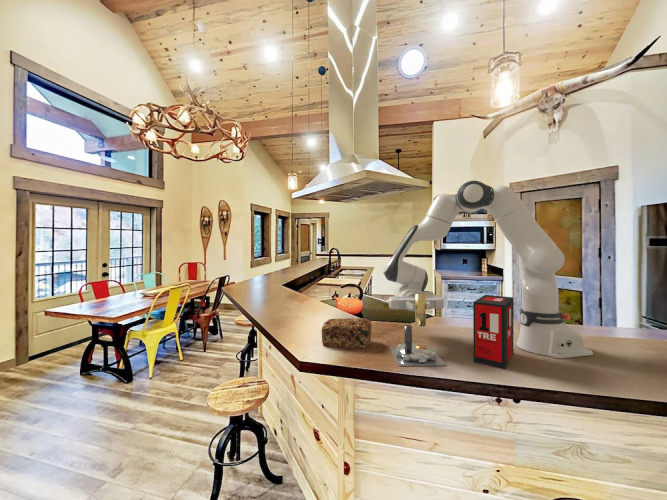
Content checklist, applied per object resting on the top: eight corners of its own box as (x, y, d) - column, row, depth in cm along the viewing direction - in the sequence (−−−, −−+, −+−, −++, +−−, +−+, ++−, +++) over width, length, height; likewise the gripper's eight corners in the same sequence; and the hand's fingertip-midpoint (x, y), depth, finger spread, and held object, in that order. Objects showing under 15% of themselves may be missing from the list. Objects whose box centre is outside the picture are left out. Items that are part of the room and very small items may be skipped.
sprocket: (391, 347, 104) (391, 318, 104) (428, 346, 105) (427, 318, 105) (401, 362, 91) (401, 329, 91) (443, 361, 91) (443, 328, 91)
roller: (424, 323, 102) (423, 293, 102) (427, 326, 98) (427, 295, 98) (414, 323, 102) (413, 293, 102) (416, 326, 98) (416, 295, 98)
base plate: (430, 348, 105) (430, 347, 105) (445, 365, 90) (445, 364, 90) (390, 348, 105) (390, 347, 105) (398, 366, 90) (398, 364, 90)
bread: (372, 341, 115) (371, 316, 114) (368, 350, 104) (368, 324, 104) (328, 338, 119) (327, 314, 119) (320, 346, 109) (320, 321, 109)
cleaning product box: (504, 369, 87) (504, 305, 87) (473, 362, 93) (473, 301, 93) (513, 353, 100) (513, 297, 99) (485, 347, 105) (485, 294, 105)
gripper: (385, 291, 113) (391, 298, 99) (436, 291, 113) (449, 298, 99) (385, 307, 113) (391, 316, 99) (436, 307, 113) (449, 315, 99)
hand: (421, 307), depth 99 cm, fingers closed on roller, 4 cm apart
